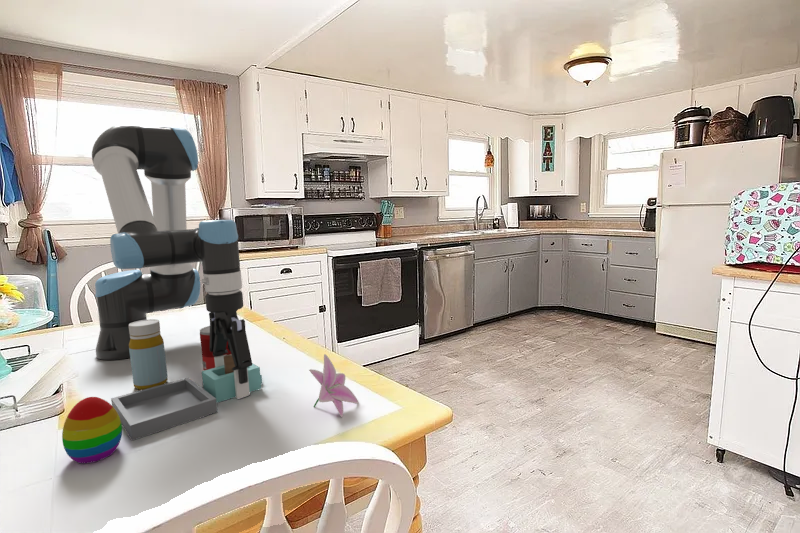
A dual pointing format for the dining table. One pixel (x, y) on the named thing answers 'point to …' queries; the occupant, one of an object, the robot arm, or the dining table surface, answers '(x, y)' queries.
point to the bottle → (147, 354)
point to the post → (228, 364)
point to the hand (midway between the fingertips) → (232, 389)
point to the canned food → (205, 346)
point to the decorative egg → (91, 430)
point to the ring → (228, 382)
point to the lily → (333, 386)
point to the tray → (163, 407)
